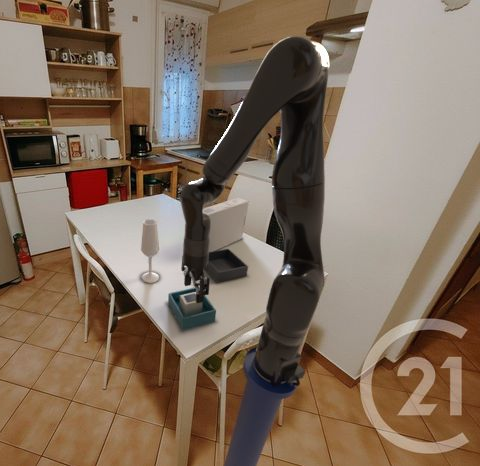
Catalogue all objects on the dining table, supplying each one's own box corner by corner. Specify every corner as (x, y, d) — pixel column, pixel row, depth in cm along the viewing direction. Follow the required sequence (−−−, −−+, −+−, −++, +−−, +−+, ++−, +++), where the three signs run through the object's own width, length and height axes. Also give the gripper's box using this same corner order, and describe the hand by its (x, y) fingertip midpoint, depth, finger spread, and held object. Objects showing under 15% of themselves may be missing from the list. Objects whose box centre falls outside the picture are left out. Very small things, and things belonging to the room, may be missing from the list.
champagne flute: (159, 272, 105) (160, 218, 94) (158, 283, 99) (158, 226, 88) (143, 271, 106) (142, 217, 95) (140, 282, 100) (138, 225, 89)
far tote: (246, 275, 104) (248, 266, 102) (217, 282, 100) (218, 272, 98) (227, 257, 116) (228, 248, 114) (200, 262, 112) (201, 253, 110)
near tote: (214, 321, 83) (216, 310, 81) (182, 330, 80) (183, 319, 78) (197, 296, 93) (198, 286, 91) (168, 303, 90) (168, 293, 88)
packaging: (232, 233, 136) (238, 197, 127) (242, 238, 132) (249, 201, 122) (189, 252, 120) (192, 211, 110) (199, 258, 115) (203, 216, 106)
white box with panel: (201, 313, 85) (202, 300, 83) (184, 317, 83) (185, 304, 81) (195, 304, 89) (196, 291, 86) (179, 308, 87) (179, 295, 85)
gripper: (174, 239, 80) (173, 282, 88) (195, 264, 68) (192, 311, 76) (197, 236, 82) (194, 278, 90) (220, 259, 70) (215, 305, 78)
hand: (193, 293), depth 83 cm, fingers open, 8 cm apart
